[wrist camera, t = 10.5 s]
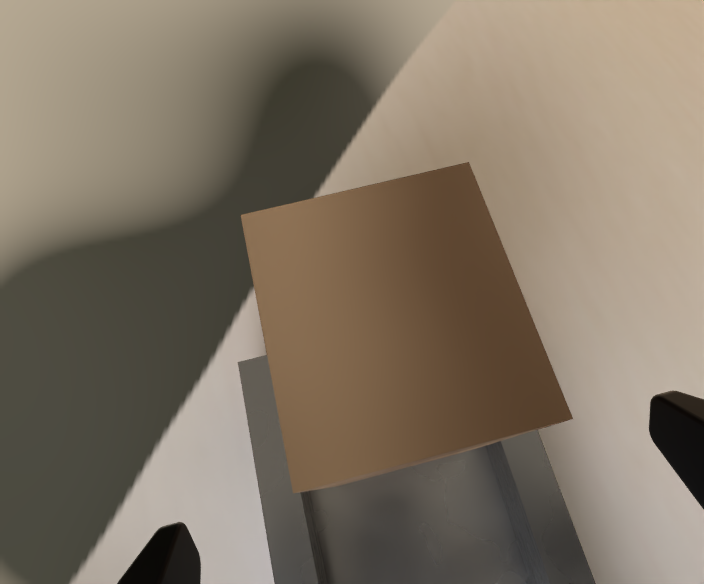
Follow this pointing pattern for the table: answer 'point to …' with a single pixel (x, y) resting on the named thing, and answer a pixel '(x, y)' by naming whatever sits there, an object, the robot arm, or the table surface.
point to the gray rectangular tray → (415, 514)
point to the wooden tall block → (394, 328)
